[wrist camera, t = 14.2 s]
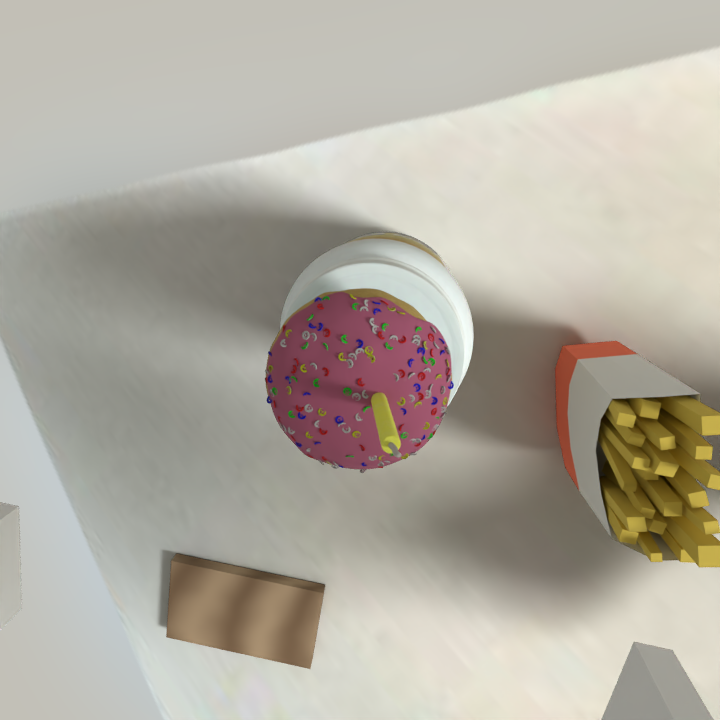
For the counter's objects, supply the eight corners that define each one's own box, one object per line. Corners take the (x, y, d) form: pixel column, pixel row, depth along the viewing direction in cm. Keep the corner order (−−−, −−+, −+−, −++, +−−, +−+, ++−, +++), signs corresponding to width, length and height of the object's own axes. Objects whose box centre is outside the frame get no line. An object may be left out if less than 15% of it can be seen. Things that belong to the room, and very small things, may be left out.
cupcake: (441, 270, 26) (464, 315, 14) (450, 424, 28) (475, 570, 17) (278, 285, 27) (177, 337, 15) (299, 432, 29) (224, 574, 18)
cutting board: (325, 584, 52) (323, 593, 51) (312, 659, 55) (310, 668, 54) (176, 553, 53) (171, 560, 52) (171, 628, 56) (166, 637, 55)
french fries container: (552, 454, 46) (635, 599, 29) (549, 339, 43) (639, 422, 26) (605, 451, 45) (723, 596, 28) (606, 333, 42) (736, 415, 25)
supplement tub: (289, 281, 44) (216, 320, 28) (408, 201, 41) (405, 193, 25) (364, 395, 46) (338, 493, 30) (483, 327, 43) (524, 395, 27)
